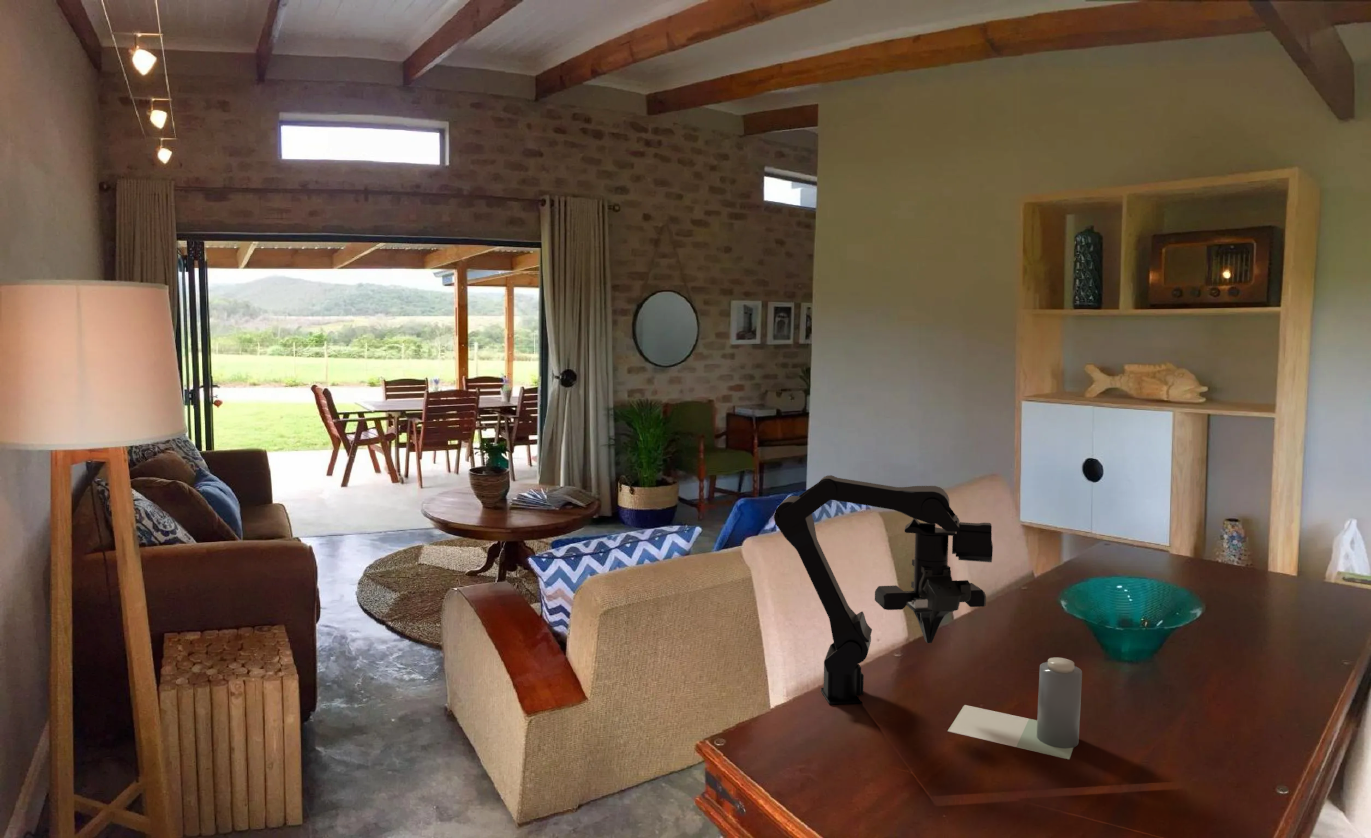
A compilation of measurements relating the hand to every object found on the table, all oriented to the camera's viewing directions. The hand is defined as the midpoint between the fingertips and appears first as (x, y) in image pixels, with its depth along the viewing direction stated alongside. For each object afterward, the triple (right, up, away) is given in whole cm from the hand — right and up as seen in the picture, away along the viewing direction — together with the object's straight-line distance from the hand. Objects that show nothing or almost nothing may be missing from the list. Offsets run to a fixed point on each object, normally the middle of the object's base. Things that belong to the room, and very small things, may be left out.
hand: (928, 642), depth 159 cm
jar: (+18, -13, -13) cm, 25 cm away
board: (+12, -13, -10) cm, 20 cm away
